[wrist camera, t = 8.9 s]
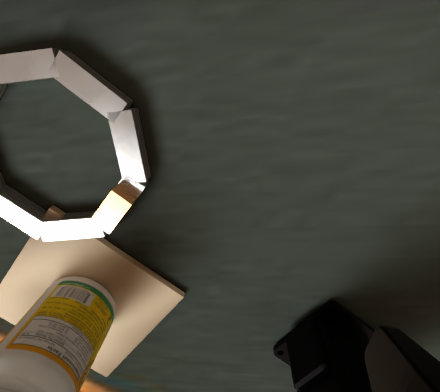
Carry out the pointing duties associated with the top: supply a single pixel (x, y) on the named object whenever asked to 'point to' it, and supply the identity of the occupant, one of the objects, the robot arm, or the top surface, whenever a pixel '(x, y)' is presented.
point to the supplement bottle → (57, 338)
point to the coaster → (97, 271)
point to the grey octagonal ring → (121, 132)
